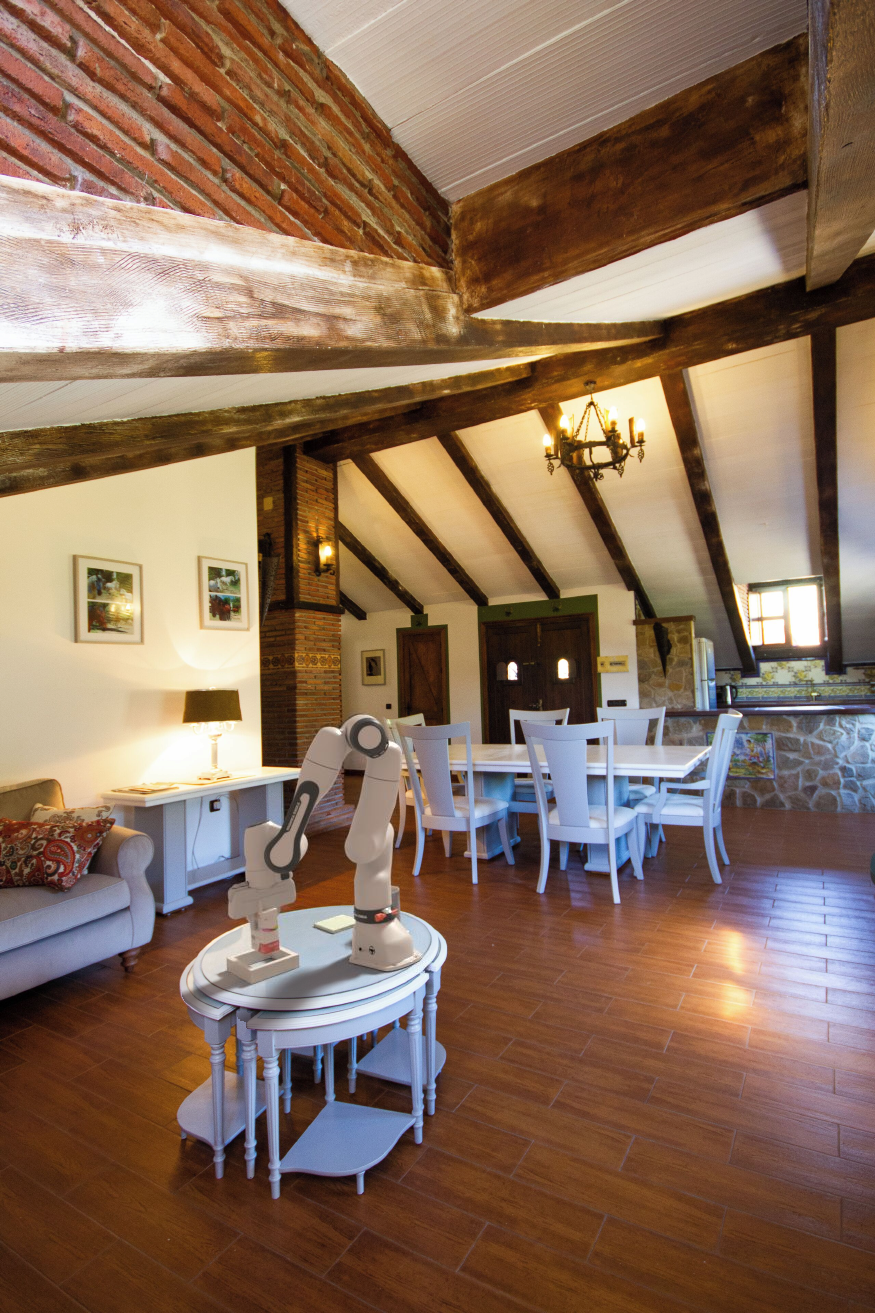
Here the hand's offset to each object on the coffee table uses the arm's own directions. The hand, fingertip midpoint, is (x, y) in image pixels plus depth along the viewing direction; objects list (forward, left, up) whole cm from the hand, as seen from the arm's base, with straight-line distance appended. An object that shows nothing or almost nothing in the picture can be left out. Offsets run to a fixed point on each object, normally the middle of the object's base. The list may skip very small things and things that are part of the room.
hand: (264, 926), depth 189 cm
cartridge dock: (+1, +1, -12) cm, 12 cm away
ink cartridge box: (0, 0, -7) cm, 7 cm away
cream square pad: (+15, -35, -12) cm, 40 cm away
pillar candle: (-4, -41, -12) cm, 43 cm away
